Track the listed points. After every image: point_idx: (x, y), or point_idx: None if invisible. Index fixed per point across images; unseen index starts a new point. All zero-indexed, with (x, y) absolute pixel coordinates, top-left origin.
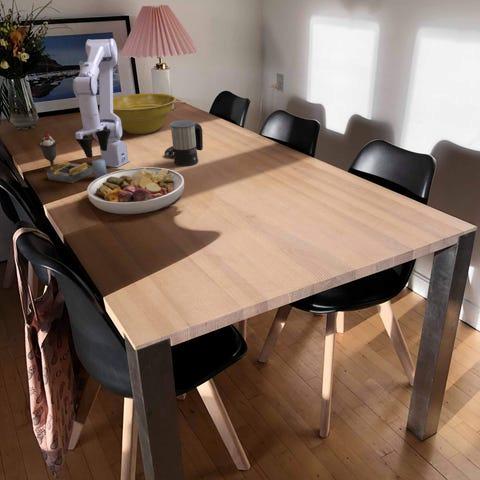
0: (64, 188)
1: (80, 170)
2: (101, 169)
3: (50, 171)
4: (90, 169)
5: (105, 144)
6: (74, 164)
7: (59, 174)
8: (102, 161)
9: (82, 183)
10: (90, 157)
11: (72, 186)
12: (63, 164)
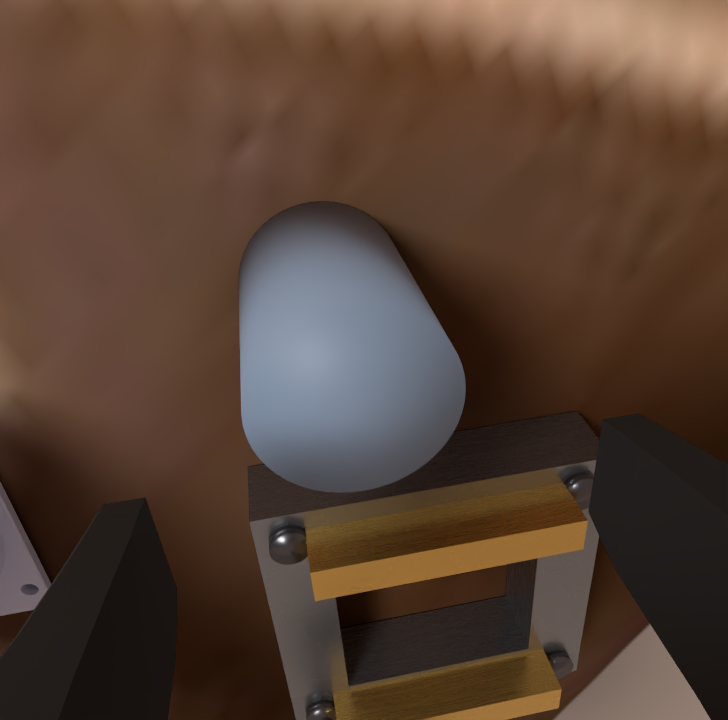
0: (708, 370)
1: (431, 511)
2: (384, 264)
3: (567, 664)
4: (287, 494)
5: (105, 625)
6: (306, 672)
7: (585, 576)
8: (329, 341)
9: (550, 324)
10: (647, 426)
11: (648, 346)
12: (418, 704)
